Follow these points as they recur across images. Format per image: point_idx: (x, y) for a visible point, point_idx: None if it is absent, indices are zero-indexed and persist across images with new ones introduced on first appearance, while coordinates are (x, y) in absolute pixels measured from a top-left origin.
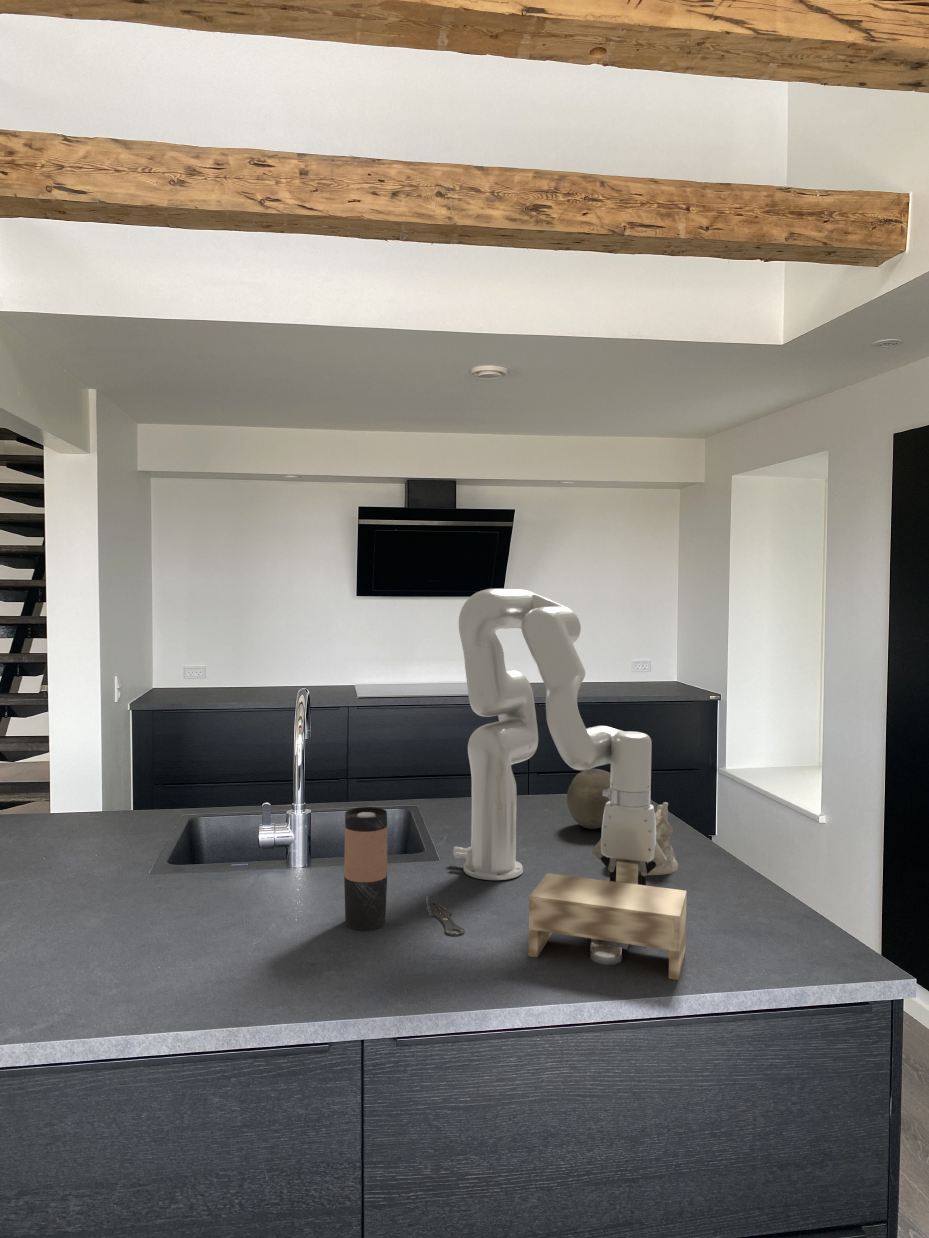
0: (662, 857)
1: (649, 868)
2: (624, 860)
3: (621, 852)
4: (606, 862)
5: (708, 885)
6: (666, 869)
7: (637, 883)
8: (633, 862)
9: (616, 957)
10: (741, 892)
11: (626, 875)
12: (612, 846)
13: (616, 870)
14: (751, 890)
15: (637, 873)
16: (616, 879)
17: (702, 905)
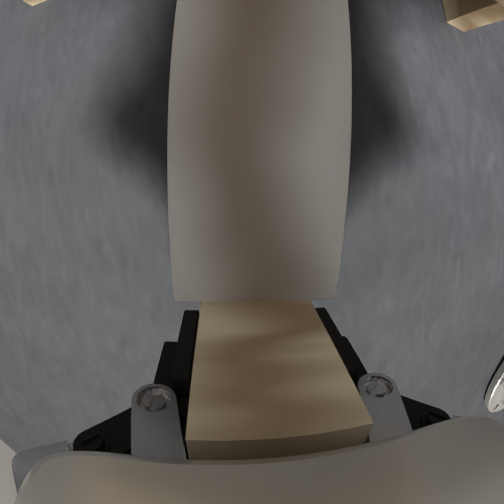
0: (23, 477)
1: (117, 429)
2: None
3: (375, 495)
4: (414, 413)
5: None
6: None
7: (196, 340)
8: (231, 457)
9: None
10: (28, 437)
11: (272, 365)
12: (475, 499)
13: (349, 375)
14: (23, 443)
15: (192, 383)
16: (328, 339)
17: (42, 370)
